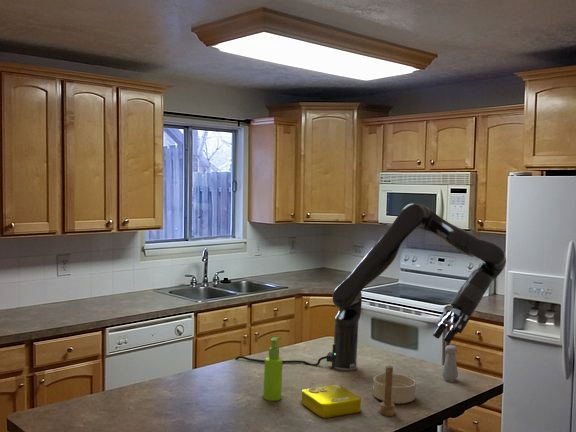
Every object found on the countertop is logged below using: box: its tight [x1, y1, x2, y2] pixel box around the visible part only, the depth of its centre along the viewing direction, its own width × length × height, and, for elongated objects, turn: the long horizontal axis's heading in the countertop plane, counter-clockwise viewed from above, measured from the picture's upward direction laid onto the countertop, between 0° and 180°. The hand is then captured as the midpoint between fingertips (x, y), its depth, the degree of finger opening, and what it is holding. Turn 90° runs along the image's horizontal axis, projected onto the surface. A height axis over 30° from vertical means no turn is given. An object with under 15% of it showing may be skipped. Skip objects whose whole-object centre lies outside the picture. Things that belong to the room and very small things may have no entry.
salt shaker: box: [441, 344, 459, 383], centre depth 220 cm, size 6×6×13 cm
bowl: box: [372, 373, 417, 405], centre depth 200 cm, size 14×14×6 cm
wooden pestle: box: [379, 365, 396, 417], centre depth 185 cm, size 4×4×15 cm
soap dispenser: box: [263, 336, 284, 402], centre depth 196 cm, size 6×7×20 cm
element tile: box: [301, 383, 362, 419], centre depth 189 cm, size 15×15×5 cm
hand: (440, 339), depth 192 cm, fingers open, 8 cm apart
